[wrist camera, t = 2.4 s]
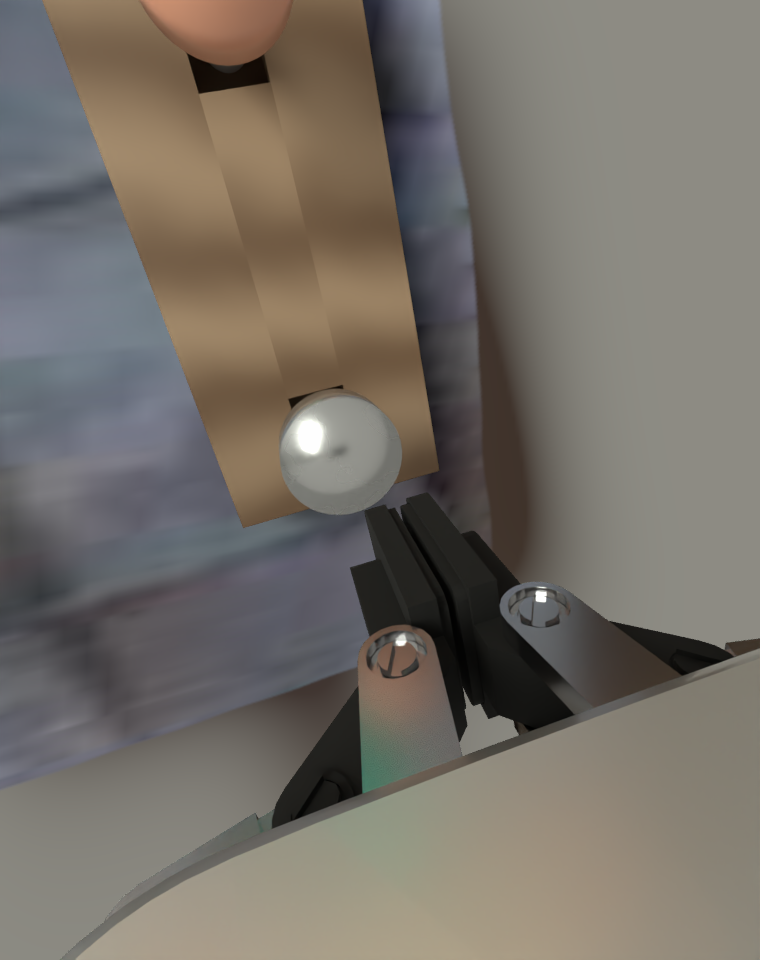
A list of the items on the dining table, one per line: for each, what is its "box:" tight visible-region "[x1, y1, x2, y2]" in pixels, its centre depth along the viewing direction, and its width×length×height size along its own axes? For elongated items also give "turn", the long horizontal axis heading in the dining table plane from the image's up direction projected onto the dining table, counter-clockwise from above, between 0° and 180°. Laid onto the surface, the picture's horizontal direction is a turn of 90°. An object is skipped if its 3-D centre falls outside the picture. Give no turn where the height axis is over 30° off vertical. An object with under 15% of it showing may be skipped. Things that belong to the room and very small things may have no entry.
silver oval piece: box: [278, 389, 402, 515], centre depth 22 cm, size 5×5×7 cm
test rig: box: [42, 0, 439, 528], centre depth 24 cm, size 26×12×5 cm, turn 12°
